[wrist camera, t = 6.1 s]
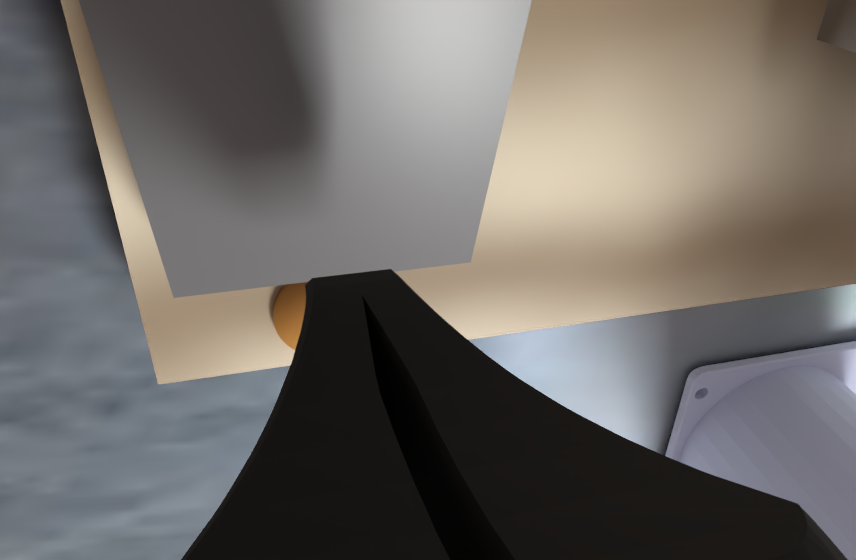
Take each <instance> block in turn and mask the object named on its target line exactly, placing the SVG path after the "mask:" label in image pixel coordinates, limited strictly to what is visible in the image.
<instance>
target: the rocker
mask: <svg viewBox="0 0 856 560" xmlns="http://www.w3.org/2000/svg"><path fill="white" fill-rule="evenodd" d="M531 2H532V0H79V3H80V6H81V9H82V12H83V15H84V18H85V22H86V25H87V28H88V31H89V34H90V37H91V40H92V44H93V47H94V50H95V53H96V56H97V59H98V62H99V66H100V69H101V72H102V75H103V78H104V81H105V84H106V87H107V91H108V94H109V97H110V100H111V103H112V106H113V109H114V113H115V116H116V119H117V122H118V125H119V128H120V131H121V135H122V138H123V141H124V144H125V147H126V150H127V153H128V156H129V160H130V163H131V166H132V169H133V172H134V175H135V178H136V182H137V185H138V188H139V191H140V194H141V197H142V200H143V204H144V207H145V210H146V213H147V216H148V219H149V222H150V225H151V229H152V232H153V235H154V238H155V241H156V244H157V247H158V251H159V254H160V257H161V260H162V263H163V266H164V269H165V273H166V276H167V279H168V282H169V285H170V288H171V291H172V294H173V298H178V297H186V296H195V295H203V294H211V293H220V292H228V291H236V290H245V289H253V288H261V287H270V286H278V285H286V284H295V283H303V282H309V281H310V280H311V279H312V278H317V277H326V276H334V275H343V274H352V273H360V272H369V271H377V270H386V269H392V270H393V271H394V272H395V271H403V270H412V269H420V268H428V267H437V266H445V265H453V264H462V263H470V262H471V259H472V254H473V250H474V246H475V242H476V237H477V233H478V229H479V224H480V220H481V216H482V212H483V207H484V203H485V199H486V194H487V190H488V186H489V182H490V177H491V173H492V169H493V164H494V160H495V156H496V152H497V147H498V143H499V139H500V135H501V130H502V126H503V122H504V117H505V113H506V109H507V105H508V100H509V96H510V92H511V87H512V83H513V79H514V75H515V70H516V66H517V62H518V58H519V53H520V49H521V45H522V40H523V36H524V32H525V28H526V23H527V19H528V15H529V10H530V6H531Z"/></svg>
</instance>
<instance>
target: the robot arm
mask: <svg viewBox="0 0 856 560" xmlns="http://www.w3.org/2000/svg"><path fill="white" fill-rule="evenodd" d="M305 291H306V305H305V312H304V318H303V323H302V328H301V332H300V335H299V339H298V342H297V346H296V349H295V353H294V356H293V360H292V363H291V366H290V368H289V371H288V374H287V376H286V379H285V381H284V384H283V386H282V389H281V392H280V394H279V397H278V399H277V402H276V404H275V406H274V409H273V411H272V413H271V415H270V417H269V420H268V422H267V424H266V426H265V428H264V430H263V432H262V434H261V436H260V438H259V440H258V442H257V444H256V446H255V448H254V449H253V451H252V453H251V455H250V457H249V459H248V460H247V462H246V464H245V465H244V467H243V469H242V470H241V472H240V474H239V475H238V477H237V479H236V481H235V482H234V484H233V486H232V487H231V489H230V491H229V492H228V494H227V495H226V497H225V498H224V500H223V502H222V503H221V505H220V506H219V508H218V509H217V511H216V512H215V514H214V515H213V517H212V518H211V519H210V521H209V522H208V523H207V525H206V526H205V528H204V529H203V530H202V532H201V533H200V534H199V536H198V537H197V539H196V540H195V541H194V543H193V544H192V545H191V547H190V548H189V550H188V551H187V552H186V554H185V555H184V556H183V558H182V559H181V560H856V341H852V342H846V343H840V344H834V345H828V346H822V347H816V348H810V349H804V350H798V351H792V352H786V353H780V354H774V355H768V356H762V357H756V358H750V359H744V360H738V361H731V362H725V363H719V364H713V365H707V366H701V367H698V368H696V369H694V370H693V371H692V372H691V373H690V374H689V376H688V378H687V381H686V384H685V388H684V391H683V395H682V398H681V402H680V405H679V409H678V412H677V416H676V420H675V423H674V427H673V430H672V434H671V437H670V441H669V444H668V448H667V451H666V455H665V456H664V455H661V454H659V453H657V452H654V451H652V450H650V449H647V448H645V447H643V446H641V445H639V444H636V443H634V442H632V441H630V440H628V439H625V438H623V437H621V436H619V435H617V434H615V433H613V432H611V431H609V430H607V429H605V428H603V427H601V426H599V425H598V424H596V423H594V422H592V421H590V420H588V419H586V418H584V417H582V416H580V415H578V414H576V413H575V412H573V411H571V410H569V409H567V408H566V407H564V406H562V405H560V404H559V403H557V402H555V401H554V400H552V399H551V398H549V397H547V396H546V395H544V394H542V393H541V392H539V391H538V390H536V389H534V388H533V387H531V386H530V385H528V384H526V383H525V382H523V381H522V380H520V379H519V378H517V377H516V376H514V375H513V374H511V373H510V372H509V371H507V370H506V369H504V368H503V367H502V366H500V365H499V364H498V363H496V362H495V361H494V360H492V359H491V358H490V357H488V356H487V355H486V354H484V353H483V352H482V351H481V350H479V349H478V348H477V347H476V346H474V345H473V344H472V343H471V342H470V341H468V340H467V339H466V338H465V337H464V336H463V335H461V334H460V333H459V332H458V331H457V330H456V329H455V328H453V327H452V326H451V325H450V324H449V323H448V322H446V321H445V320H444V319H443V318H442V317H441V316H440V315H439V314H438V313H437V312H435V311H434V310H433V309H432V308H431V307H430V306H429V305H428V304H427V303H426V302H425V301H424V300H423V299H422V298H421V297H420V296H419V295H418V294H417V293H416V292H415V291H414V290H413V289H412V288H411V287H410V286H409V285H408V284H407V283H406V282H405V281H404V280H403V279H402V278H401V277H400V276H399V275H397V274H396V273H395V272H394V271H393V270H392V269H386V270H377V271H369V272H360V273H352V274H343V275H334V276H326V277H317V278H312V279H311V280H310V281H309V282H308V283H307V284H306V285H305Z"/></svg>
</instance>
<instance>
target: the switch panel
mask: <svg viewBox="0 0 856 560" xmlns="http://www.w3.org/2000/svg"><path fill="white" fill-rule="evenodd" d="M61 4H62V8H63V11H64V15H65V19H66V23H67V27H68V31H69V35H70V39H71V43H72V47H73V51H74V55H75V59H76V63H77V66H78V70H79V74H80V78H81V82H82V86H83V90H84V94H85V98H86V102H87V106H88V110H89V114H90V118H91V121H92V125H93V129H94V133H95V137H96V141H97V145H98V149H99V153H100V157H101V161H102V165H103V169H104V173H105V176H106V180H107V184H108V188H109V192H110V196H111V200H112V204H113V208H114V212H115V216H116V220H117V224H118V228H119V231H120V235H121V239H122V243H123V247H124V251H125V255H126V259H127V263H128V267H129V271H130V275H131V279H132V283H133V287H134V290H135V294H136V298H137V302H138V306H139V310H140V314H141V318H142V322H143V326H144V330H145V334H146V338H147V342H148V345H149V349H150V353H151V357H152V361H153V365H154V369H155V373H156V377H157V381H158V384H165V383H172V382H179V381H186V380H193V379H200V378H207V377H214V376H221V375H227V374H234V373H241V372H248V371H255V370H262V369H269V368H276V367H283V366H290V365H291V363H292V360H293V356H294V353H295V349H296V346H297V342H298V339H299V335H300V332H301V328H302V323H303V318H304V312H305V305H306V291H305V285H306V284H307V283H308V282H303V283H295V284H286V285H278V286H270V287H261V288H253V289H245V290H236V291H228V292H220V293H211V294H203V295H195V296H186V297H178V298H173V294H172V291H171V288H170V285H169V282H168V279H167V276H166V273H165V269H164V266H163V263H162V260H161V257H160V254H159V251H158V247H157V244H156V241H155V238H154V235H153V232H152V229H151V225H150V222H149V219H148V216H147V213H146V210H145V207H144V204H143V200H142V197H141V194H140V191H139V188H138V185H137V182H136V178H135V175H134V172H133V169H132V166H131V163H130V160H129V156H128V153H127V150H126V147H125V144H124V141H123V138H122V135H121V131H120V128H119V125H118V122H117V119H116V116H115V113H114V109H113V106H112V103H111V100H110V97H109V94H108V91H107V87H106V84H105V81H104V78H103V75H102V72H101V69H100V66H99V62H98V59H97V56H96V53H95V50H94V47H93V44H92V40H91V37H90V34H89V31H88V28H87V25H86V22H85V18H84V15H83V12H82V9H81V6H80V3H79V0H61ZM395 273H396V274H397V275H399V276H400V277H401V278H402V279H403V280H404V281H405V282H406V283H407V284H408V285H409V286H410V287H411V288H412V289H413V290H414V291H415V292H416V293H417V294H418V295H419V296H420V297H421V298H422V299H423V300H424V301H425V302H426V303H427V304H428V305H429V306H430V307H431V308H432V309H433V310H434V311H435V312H437V313H438V314H439V315H440V316H441V317H442V318H443V319H444V320H445V321H446V322H448V323H449V324H450V325H451V326H452V327H453V328H455V329H456V330H457V331H458V332H459V333H460V334H461V335H463V336H464V337H465V338H466V339H467V340H469V339H476V338H483V337H490V336H497V335H504V334H511V333H518V332H525V331H532V330H539V329H545V328H552V327H559V326H566V325H573V324H580V323H587V322H594V321H601V320H608V319H615V318H621V317H628V316H635V315H642V314H649V313H656V312H663V311H670V310H677V309H684V308H691V307H698V306H704V305H711V304H718V303H725V302H732V301H739V300H746V299H753V298H760V297H767V296H774V295H780V294H787V293H794V292H801V291H808V290H815V289H822V288H829V287H836V286H843V285H850V284H856V0H532V2H531V6H530V10H529V15H528V19H527V23H526V28H525V32H524V36H523V40H522V45H521V49H520V53H519V58H518V62H517V66H516V70H515V75H514V79H513V83H512V87H511V92H510V96H509V100H508V105H507V109H506V113H505V117H504V122H503V126H502V130H501V135H500V139H499V143H498V147H497V152H496V156H495V160H494V164H493V169H492V173H491V177H490V182H489V186H488V190H487V194H486V199H485V203H484V207H483V212H482V216H481V220H480V224H479V229H478V233H477V237H476V242H475V246H474V250H473V254H472V259H471V262H470V263H462V264H453V265H445V266H437V267H428V268H420V269H412V270H403V271H395Z"/></svg>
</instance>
